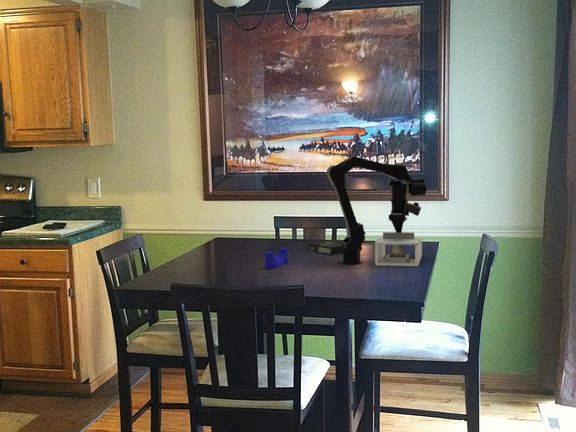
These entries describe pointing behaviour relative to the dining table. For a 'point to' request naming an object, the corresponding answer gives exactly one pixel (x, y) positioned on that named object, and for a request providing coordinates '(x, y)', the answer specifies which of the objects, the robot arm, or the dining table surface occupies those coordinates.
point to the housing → (397, 261)
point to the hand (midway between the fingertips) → (399, 236)
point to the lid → (397, 239)
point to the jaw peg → (397, 250)
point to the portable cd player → (328, 247)
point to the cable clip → (276, 259)
